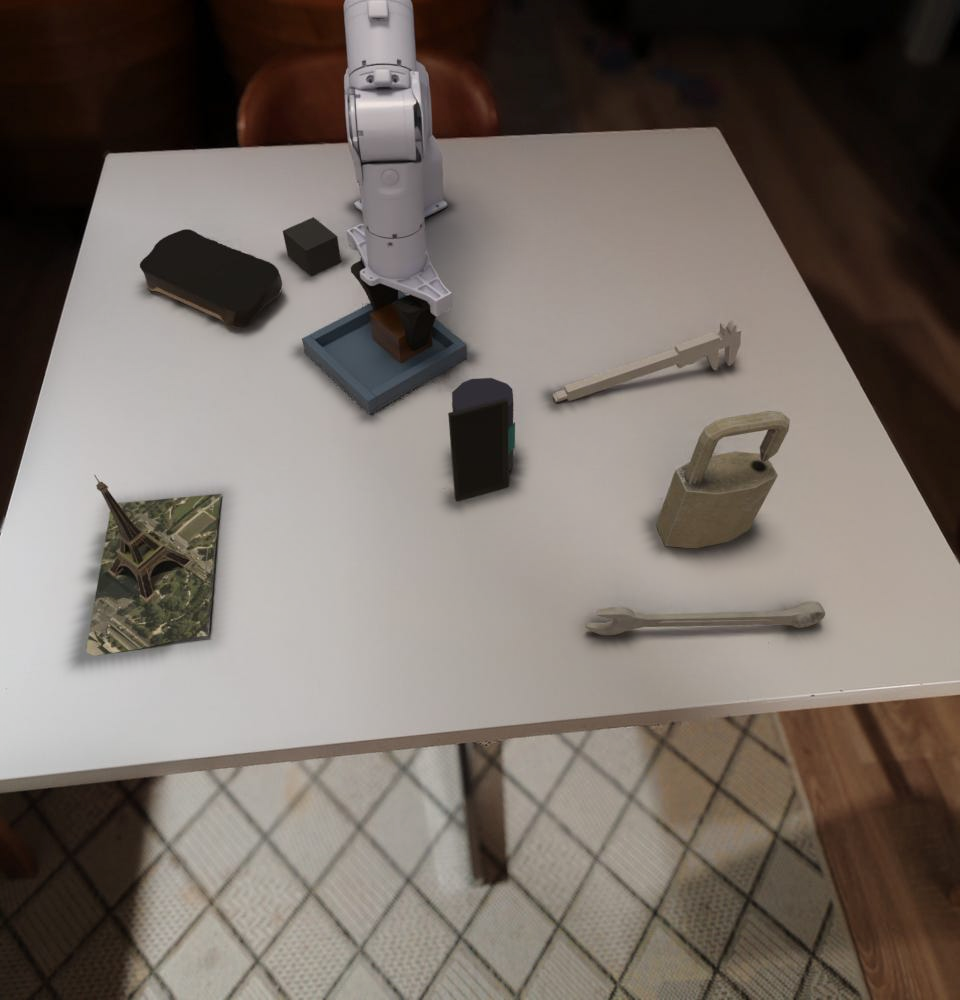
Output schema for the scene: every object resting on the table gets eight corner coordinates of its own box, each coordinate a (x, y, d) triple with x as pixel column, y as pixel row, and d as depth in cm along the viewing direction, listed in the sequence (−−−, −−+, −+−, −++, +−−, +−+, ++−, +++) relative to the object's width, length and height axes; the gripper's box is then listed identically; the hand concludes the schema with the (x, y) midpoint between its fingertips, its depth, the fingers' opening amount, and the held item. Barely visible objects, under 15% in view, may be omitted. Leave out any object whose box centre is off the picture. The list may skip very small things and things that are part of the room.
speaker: (516, 501, 72) (516, 417, 64) (454, 502, 72) (447, 419, 64) (514, 444, 77) (514, 361, 69) (456, 445, 77) (450, 362, 69)
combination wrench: (830, 596, 63) (588, 600, 62) (835, 610, 62) (590, 615, 61) (812, 617, 66) (581, 622, 65) (816, 631, 65) (583, 636, 64)
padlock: (752, 537, 70) (812, 428, 58) (668, 553, 69) (711, 444, 57) (734, 503, 72) (788, 391, 60) (652, 518, 71) (691, 406, 59)
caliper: (726, 360, 84) (743, 315, 79) (731, 367, 83) (749, 322, 78) (551, 397, 80) (558, 352, 75) (555, 404, 80) (561, 359, 75)
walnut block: (404, 322, 86) (402, 296, 83) (432, 345, 84) (431, 320, 81) (372, 339, 84) (369, 313, 81) (400, 364, 82) (398, 338, 79)
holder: (399, 302, 89) (398, 288, 87) (467, 358, 84) (467, 344, 82) (304, 352, 84) (301, 338, 82) (369, 414, 78) (367, 401, 77)
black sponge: (294, 295, 89) (288, 269, 86) (245, 337, 85) (237, 311, 82) (189, 250, 94) (180, 223, 91) (137, 288, 89) (126, 261, 86)
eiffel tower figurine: (213, 641, 63) (162, 554, 52) (85, 657, 62) (6, 571, 51) (222, 496, 72) (180, 396, 61) (109, 507, 71) (46, 408, 60)
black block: (318, 242, 95) (313, 216, 92) (341, 261, 93) (337, 236, 90) (287, 256, 93) (282, 230, 91) (310, 276, 91) (305, 250, 88)
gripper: (314, 201, 74) (333, 313, 85) (407, 275, 67) (415, 386, 78) (374, 176, 76) (385, 287, 87) (468, 244, 70) (468, 355, 81)
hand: (402, 332), depth 83 cm, fingers closed on walnut block, 5 cm apart
